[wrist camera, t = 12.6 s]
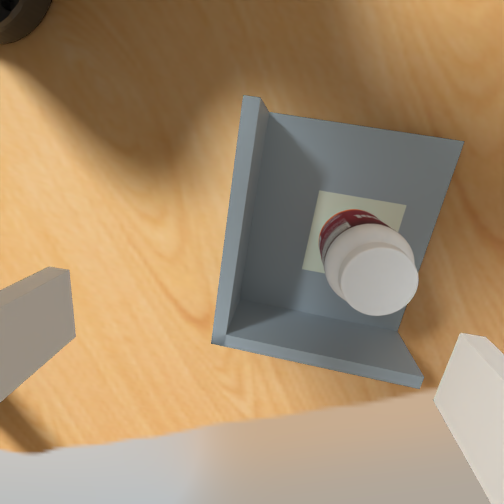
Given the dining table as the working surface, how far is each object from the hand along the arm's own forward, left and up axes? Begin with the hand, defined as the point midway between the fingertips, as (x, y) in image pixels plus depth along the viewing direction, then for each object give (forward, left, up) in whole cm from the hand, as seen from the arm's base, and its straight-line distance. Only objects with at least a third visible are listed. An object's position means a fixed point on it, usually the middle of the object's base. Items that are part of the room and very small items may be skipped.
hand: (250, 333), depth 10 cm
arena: (+1, +5, -22) cm, 22 cm away
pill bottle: (+1, +7, -21) cm, 22 cm away
